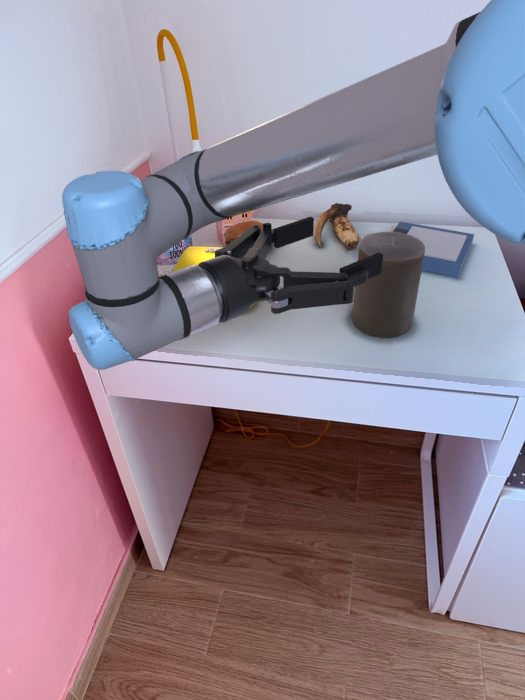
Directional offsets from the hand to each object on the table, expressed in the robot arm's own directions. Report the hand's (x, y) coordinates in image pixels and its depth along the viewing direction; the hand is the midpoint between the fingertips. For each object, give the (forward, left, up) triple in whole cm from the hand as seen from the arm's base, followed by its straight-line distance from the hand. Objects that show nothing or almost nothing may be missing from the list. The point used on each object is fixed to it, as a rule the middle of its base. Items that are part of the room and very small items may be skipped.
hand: (344, 243), depth 70 cm
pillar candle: (-5, -9, -17) cm, 20 cm away
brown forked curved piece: (+13, -35, -17) cm, 41 cm away
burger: (+27, -23, -17) cm, 39 cm away
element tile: (+25, -7, -17) cm, 31 cm away
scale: (-6, -35, -17) cm, 39 cm away
